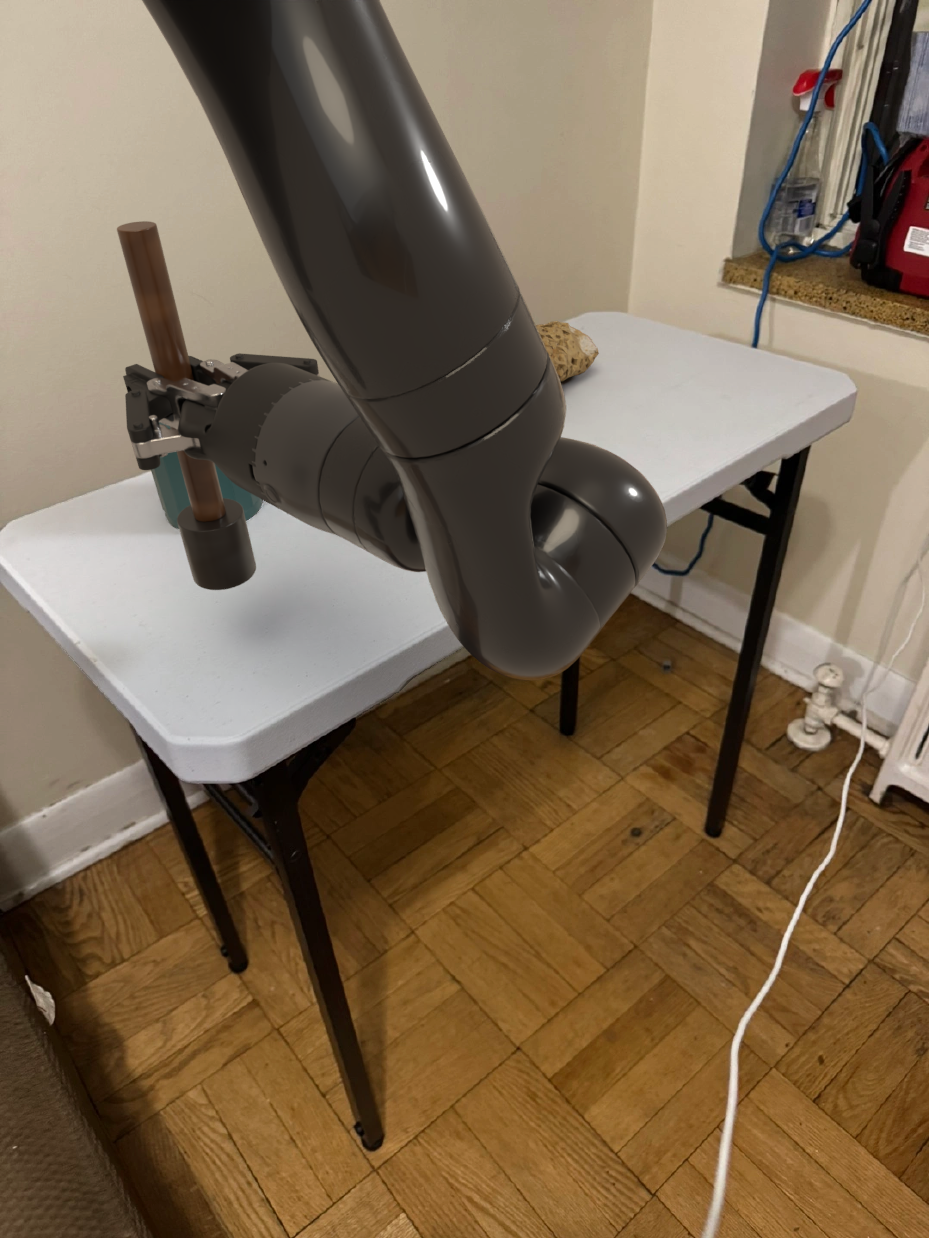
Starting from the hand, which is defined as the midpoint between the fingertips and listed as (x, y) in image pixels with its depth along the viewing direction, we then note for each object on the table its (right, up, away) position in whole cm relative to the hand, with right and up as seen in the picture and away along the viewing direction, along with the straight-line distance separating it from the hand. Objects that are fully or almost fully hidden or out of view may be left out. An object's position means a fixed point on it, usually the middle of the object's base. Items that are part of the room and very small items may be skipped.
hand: (152, 374), depth 57 cm
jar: (-5, -5, +31) cm, 32 cm away
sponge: (+28, +11, +49) cm, 58 cm away
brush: (+3, -13, +7) cm, 15 cm away
